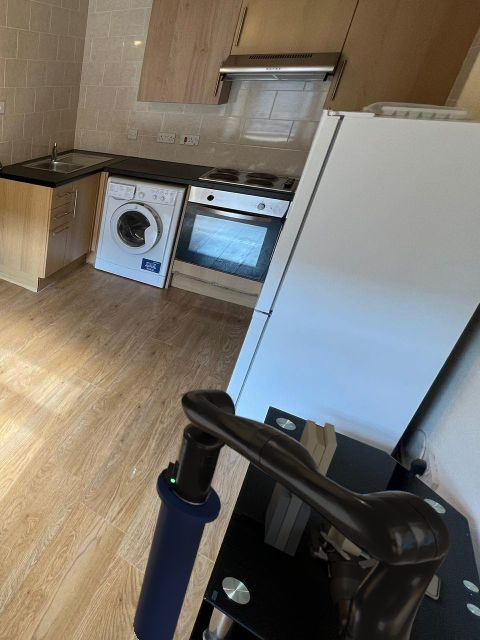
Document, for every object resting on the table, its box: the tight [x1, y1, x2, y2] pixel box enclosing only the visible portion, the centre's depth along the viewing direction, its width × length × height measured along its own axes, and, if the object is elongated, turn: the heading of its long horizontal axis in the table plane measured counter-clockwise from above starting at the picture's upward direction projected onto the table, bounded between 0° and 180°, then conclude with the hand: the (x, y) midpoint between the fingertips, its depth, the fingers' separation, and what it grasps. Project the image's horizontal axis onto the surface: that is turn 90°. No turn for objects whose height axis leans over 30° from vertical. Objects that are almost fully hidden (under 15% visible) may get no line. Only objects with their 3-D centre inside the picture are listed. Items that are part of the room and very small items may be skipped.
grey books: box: [263, 481, 312, 557], centre depth 101 cm, size 6×10×16 cm, turn 143°
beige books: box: [298, 419, 338, 476], centre depth 119 cm, size 6×10×17 cm, turn 143°
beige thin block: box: [326, 525, 362, 578], centre depth 95 cm, size 3×11×16 cm, turn 143°
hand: (347, 535), depth 94 cm, fingers open, 8 cm apart
